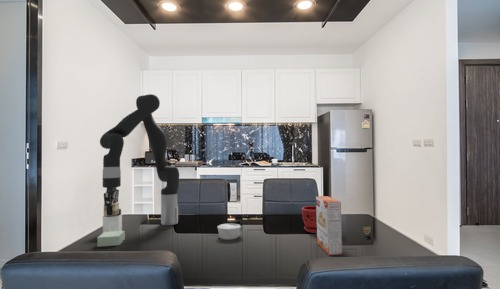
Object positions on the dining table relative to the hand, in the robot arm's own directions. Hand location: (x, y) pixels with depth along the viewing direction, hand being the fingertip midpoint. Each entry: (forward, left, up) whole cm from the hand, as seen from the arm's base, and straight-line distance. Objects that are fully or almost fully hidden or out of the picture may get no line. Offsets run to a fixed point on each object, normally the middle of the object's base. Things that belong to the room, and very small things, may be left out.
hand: (111, 213), depth 130 cm
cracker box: (-93, +28, -14) cm, 98 cm away
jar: (+5, -16, -14) cm, 22 cm away
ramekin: (-54, +2, -14) cm, 56 cm away
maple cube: (0, 0, 0) cm, 0 cm away
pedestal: (0, 0, -13) cm, 13 cm away
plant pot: (-98, +1, -14) cm, 99 cm away
